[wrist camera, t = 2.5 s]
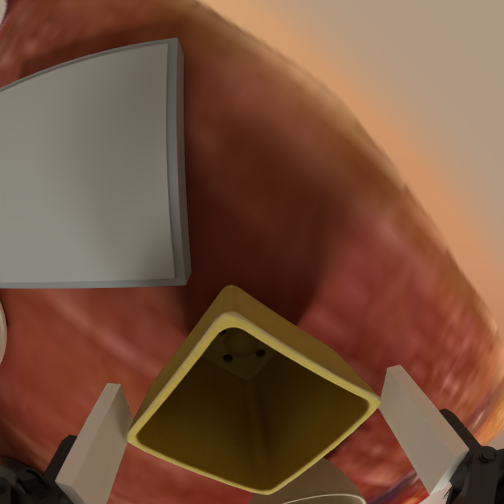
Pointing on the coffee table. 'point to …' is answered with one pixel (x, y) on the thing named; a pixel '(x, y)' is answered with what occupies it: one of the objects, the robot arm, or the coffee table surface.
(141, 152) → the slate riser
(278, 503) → the round planter pot
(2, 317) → the mug
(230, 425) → the flower pot
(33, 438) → the coffee table surface
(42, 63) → the coffee table surface
